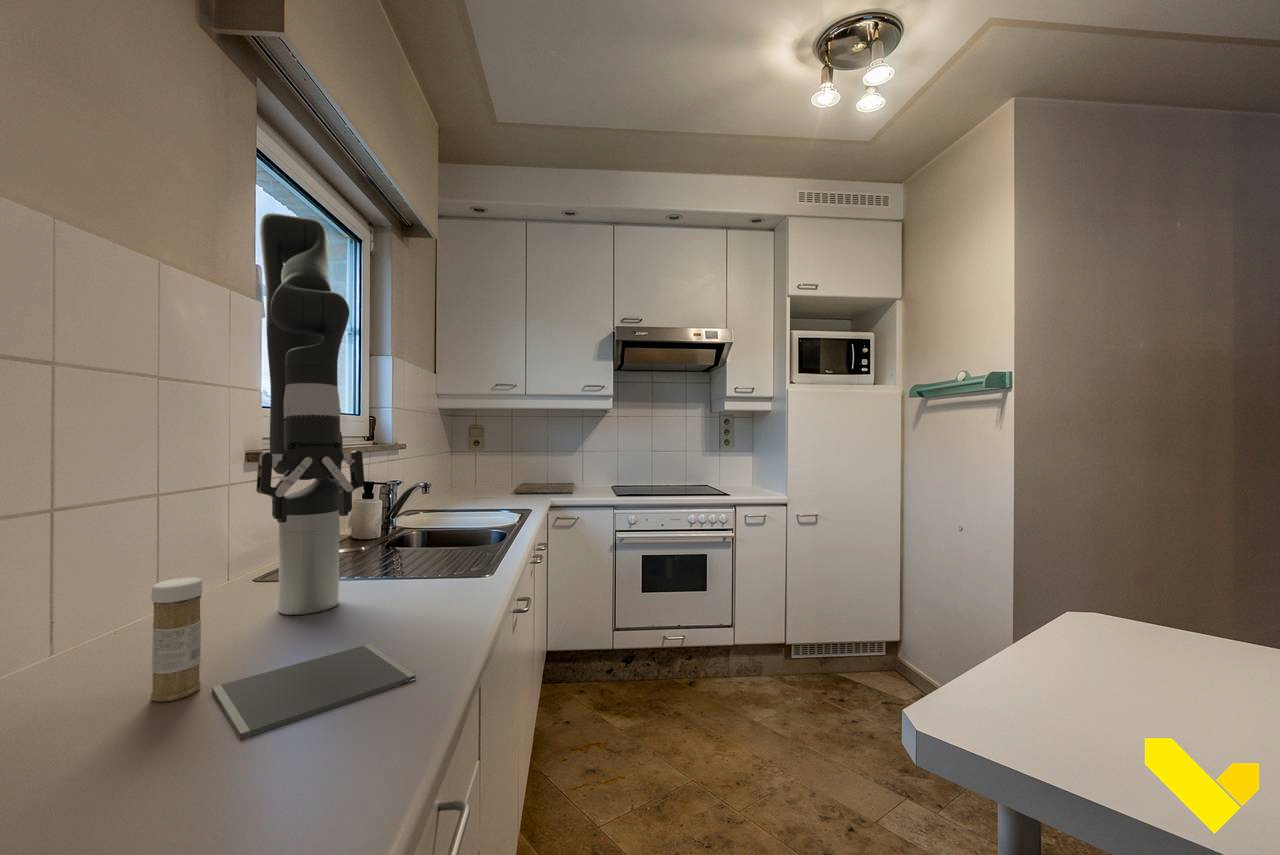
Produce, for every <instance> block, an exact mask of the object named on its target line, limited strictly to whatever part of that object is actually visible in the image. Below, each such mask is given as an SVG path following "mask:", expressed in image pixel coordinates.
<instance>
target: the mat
mask: <svg viewBox="0 0 1280 855" xmlns="http://www.w3.org/2000/svg"><path fill="white" fill-rule="evenodd" d="M412 679H415V680H416V674H415V673H413V672H412V671H410V670H409V669H407V668H406V667H405V666H403V665H401V664H400V663H399V662H397V661H395V660H394V659H393V658H391V657H390V656H388V655H386V654H385V653H384V652H382V651H381V650H379V649H377V648H376V647H374V646H373V645H372V644H370V643H367V644H364V645H361V646H356V647H354V648H349V649H346V650H342V651H339V652H335V653H331V654H328V655H325V656H321V657H317V658H314V659H310V660H306V661H302V662H298V663H295V664H291V665H288V666H284V667H280V668H277V669H274V670H269V671H266V672H262V673H259V674H255V675H251V676H247V677H244V678H240V679H236V680H231V681H229V682H226V683H222V684H217V685H213V686H212V687H211V692H212V695H213V697H215V699H216V702H217V703H218V705H219V706H220V708H221V710H222V711H223V713H224V715H225V716H226V718H227V720H228V722H229V723H230V725H231V726H232V728H233V730H234V732H235V733H236V735H237V737H238V738H239V740H240V741H241V740H244V739H247V738H251V737H252V736H256V735H259V734H261V733H265V732H267V731H270V730H273V729H276V728H279V727H282V726H285V725H288V724H291V723H294V722H296V721H300V720H303V719H305V718H309V717H311V716H315V715H317V714H320V713H323V712H326V711H330V710H332V709H335V708H339V707H340V706H344V705H348V704H349V703H352V702H355V701H358V700H361V699H364V698H366V697H370V696H373V695H375V694H379V693H382V692H384V690H385V691H388V690H390V689H389V688H391V689H393V688H392V687H394V686H397V685H399V686H401V685H400V684H402V683H405V682H407V681H410V680H412ZM405 684H406V683H405ZM402 685H403V684H402ZM397 687H398V686H397ZM394 688H395V687H394ZM387 689H388V690H387ZM381 691H382V692H381Z"/></svg>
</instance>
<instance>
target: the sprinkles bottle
mask: <svg viewBox="0 0 1280 855" xmlns="http://www.w3.org/2000/svg"><path fill="white" fill-rule="evenodd" d="M202 594H203V580H202V578H199V577H182V578H181V577H179V578H173V579H172V578H171V579H168V580H164V581H160V582H157V583H155V584H154V585H153V586H152V587H151V601H152V605H153V623H152V633H153V635H152V645H151V646H152V648H151V650H152V651H151V672H152V692H151V693H150V694H151V695H150V698H151V699H152V701H154V702H169V701H176V700H179V699H182V698H183V699H184V698H185V697H188V696H191V695H193V694H194V693H196V692H197V691H199V689H201V682H200V672H201V671H200V662H201V652H202V650H201V648H202V646H201V643H202V641H201V640H202V639H201V638H202V619H201V598H202Z"/></svg>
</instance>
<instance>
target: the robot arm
mask: <svg viewBox="0 0 1280 855" xmlns="http://www.w3.org/2000/svg"><path fill="white" fill-rule="evenodd" d="M328 238H329V237H328V233H327V230H326V228H325V226H324V225H323V224H322V223H321V222H320V221H318V220H315V219H313V218H309V217H308V218H307V217H300V216H293V215H288V214H283V213H276V212H275V213H273V212H271V213H270V212H267V213H265V214H264V215H263V216H262V217H261V220H260V224H259V239H260V248H261V249H260V250H261V257H262V264H263V265H262V266H263V274H264V281H265V284H264V285H265V292H266V293H265V295H266V296H265V297H266V298H265V299H266V300H265V301H266V302H265V303H266V309H265V310H266V312H265V313H266V319H265V320H266V347H267V348H266V349H267V358H268V360H267V361H268V368H269V369H268V370H269V381H270V382H269V383H270V409H269V410H270V411H269V412H270V414H269V416H270V419H269V452H263V453H260V454H259V456H258V461H257V472H256V473H257V474H256V475H257V478H256V488H255V489H256V493H258V494H261V495H266V496H269V497H271V504H272V505H271V506H272V507H271V508H272V509H271V511H272V513H271V515H272V518H273V519H274V520H277V523H278V524H279V526H278V528H279V531H278V532H279V534H278V535H279V537H278V540H279V542H278V543H279V544H278V545H279V546H278V547H279V548H278V554H279V555H278V613H280V614H283V615H289V616H292V615H293V616H294V615H296V616H298V615H307V614H313V613H314V614H315V613H319V612H322V611H323V612H324V611H326V610H329V609H332V608H334V607H336V606H337V605H338V604H339V597H340V596H339V594H340V593H339V587H340V585H339V584H340V517H345V516H346V517H347V516H349V513H350V512H352V509H353V492H354V491H355V490H356V489H359V488H363V487H364V486H365V471H364V460H363V452H362V451H360V450H354V451H350V452H349V451H348V452H343V451H344V450H343V448H344V446H343V444H344V442H343V434H342V431H341V412H342V411H341V410H342V408H341V402H340V394H339V386H338V365H339V364H338V361H339V354H340V349H341V345H342V341H343V337H344V334H345V331H346V328H347V325H348V322H349V318H350V307H349V304H348V302H347V300H346V299H345V298H344V297H343V295H342V294H339V293H337V292H333V291H332V290H331V285H330V284H331V283H330V280H329V276H328V270H329V239H328ZM343 461H345V463H346V464H347V465H348V466H349V473H350V474H349V475H350V481H349V480H348V479H347V478H346V476H345V474H344V473H343V471H342V465H343V464H342V463H343ZM273 471H274V472H275V473H276V474H278V475H282V476H281V478H280V479H279V481H278V482H277V484H276V485H275V486H272V473H273ZM298 480H299V481H309V480H310V481H311V480H314V481H313V482H312V483H310V484H309V485H307V486H305V487H304V488H302V489H300V490H298V491H295V492H292V493H289V494H287V492H288V490H290V488H291V487H292V486H293V485H295V483H296V482H297V481H298Z"/></svg>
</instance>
